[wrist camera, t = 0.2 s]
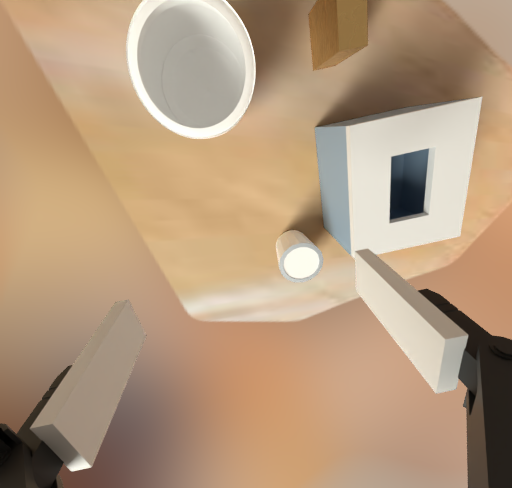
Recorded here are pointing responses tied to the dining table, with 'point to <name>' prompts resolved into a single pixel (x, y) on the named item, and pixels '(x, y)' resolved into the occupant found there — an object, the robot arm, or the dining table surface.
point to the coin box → (397, 175)
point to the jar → (191, 65)
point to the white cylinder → (298, 256)
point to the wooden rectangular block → (337, 31)
